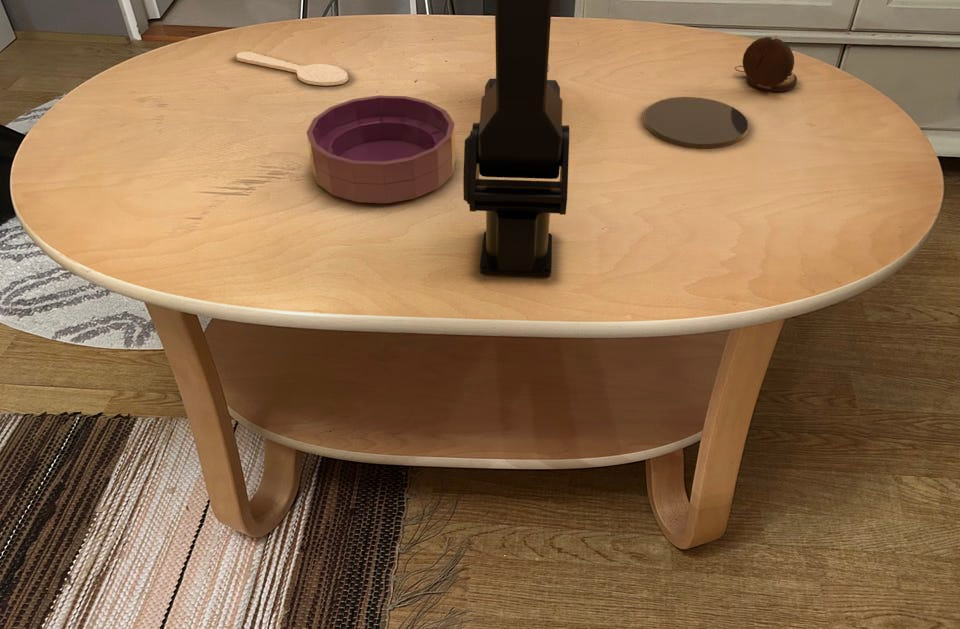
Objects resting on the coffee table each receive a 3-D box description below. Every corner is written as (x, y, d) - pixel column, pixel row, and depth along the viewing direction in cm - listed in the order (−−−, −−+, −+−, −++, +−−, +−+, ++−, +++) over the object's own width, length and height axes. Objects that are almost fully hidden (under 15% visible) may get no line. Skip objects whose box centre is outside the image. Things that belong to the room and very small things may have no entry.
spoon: (251, 49, 112) (250, 45, 111) (357, 74, 105) (357, 70, 105) (225, 63, 108) (224, 59, 108) (333, 89, 101) (333, 85, 101)
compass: (801, 79, 104) (816, 23, 99) (782, 102, 99) (797, 44, 94) (742, 65, 107) (754, 10, 102) (720, 86, 102) (731, 30, 97)
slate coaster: (755, 150, 89) (756, 145, 89) (648, 146, 90) (648, 141, 90) (737, 102, 98) (738, 98, 98) (640, 99, 99) (640, 95, 99)
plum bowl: (446, 210, 80) (444, 166, 77) (299, 204, 81) (291, 161, 78) (460, 138, 92) (460, 97, 89) (331, 133, 93) (325, 93, 90)
